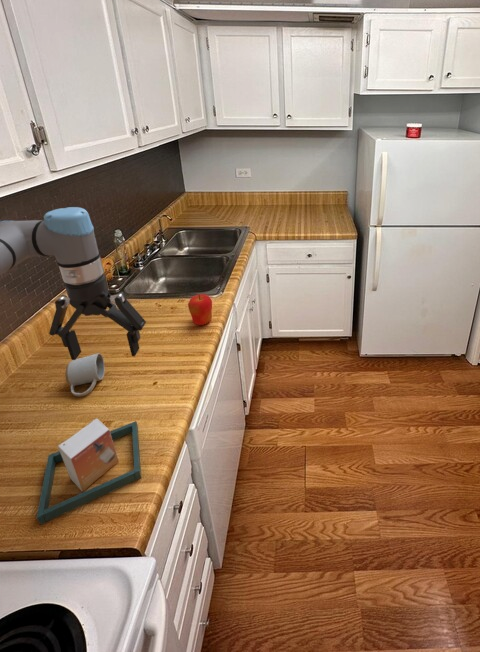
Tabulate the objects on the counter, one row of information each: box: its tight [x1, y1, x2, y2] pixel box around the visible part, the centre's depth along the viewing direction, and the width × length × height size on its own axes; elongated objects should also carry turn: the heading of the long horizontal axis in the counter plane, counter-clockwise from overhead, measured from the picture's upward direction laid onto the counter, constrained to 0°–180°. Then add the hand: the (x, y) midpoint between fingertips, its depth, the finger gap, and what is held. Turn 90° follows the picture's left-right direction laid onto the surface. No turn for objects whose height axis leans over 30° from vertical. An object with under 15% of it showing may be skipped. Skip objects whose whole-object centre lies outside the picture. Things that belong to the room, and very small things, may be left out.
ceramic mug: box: [64, 352, 106, 397], centre depth 96 cm, size 11×8×8 cm
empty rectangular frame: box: [36, 420, 142, 525], centre depth 75 cm, size 18×14×2 cm
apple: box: [187, 293, 213, 326], centre depth 123 cm, size 9×8×12 cm
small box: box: [57, 417, 119, 493], centre depth 73 cm, size 8×6×10 cm
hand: (106, 354), depth 80 cm, fingers open, 13 cm apart
